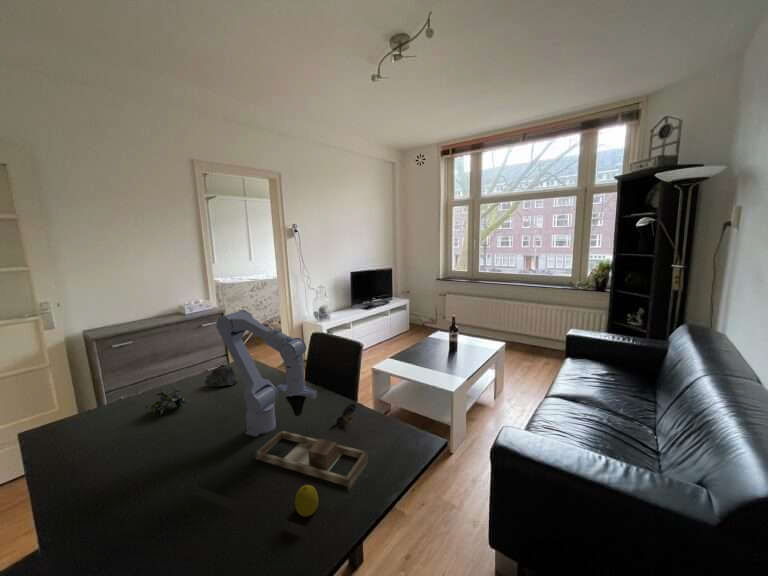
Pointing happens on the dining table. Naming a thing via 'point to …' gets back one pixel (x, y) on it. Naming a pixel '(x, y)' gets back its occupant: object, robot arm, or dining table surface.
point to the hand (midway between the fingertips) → (298, 414)
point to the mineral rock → (222, 376)
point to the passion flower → (169, 398)
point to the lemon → (306, 500)
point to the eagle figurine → (345, 415)
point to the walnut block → (323, 454)
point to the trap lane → (300, 459)
